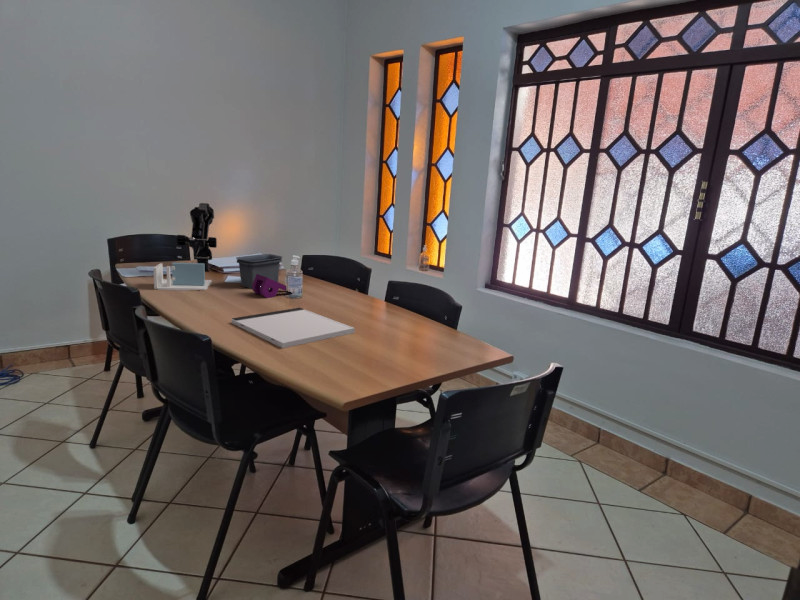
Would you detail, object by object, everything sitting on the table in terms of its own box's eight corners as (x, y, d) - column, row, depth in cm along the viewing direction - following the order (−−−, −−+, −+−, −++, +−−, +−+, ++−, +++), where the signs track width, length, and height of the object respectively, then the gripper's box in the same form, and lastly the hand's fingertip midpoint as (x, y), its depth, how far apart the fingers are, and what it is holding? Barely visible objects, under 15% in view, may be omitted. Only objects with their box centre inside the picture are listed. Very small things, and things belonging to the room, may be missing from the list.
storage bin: (250, 290, 251) (250, 261, 248) (230, 285, 260) (230, 256, 257) (285, 285, 268) (285, 257, 265) (265, 279, 277) (265, 252, 273)
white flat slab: (231, 318, 199) (300, 307, 221) (231, 324, 200) (300, 312, 222) (283, 343, 176) (354, 328, 197) (282, 350, 176) (354, 334, 198)
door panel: (173, 283, 250) (172, 262, 247) (204, 284, 252) (204, 263, 250) (171, 285, 246) (170, 264, 243) (203, 286, 249) (203, 265, 246)
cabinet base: (164, 281, 259) (163, 259, 256) (211, 282, 263) (211, 261, 261) (154, 289, 241) (153, 267, 238) (205, 290, 245) (205, 268, 243)
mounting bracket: (279, 302, 256) (249, 290, 243) (286, 286, 257) (256, 273, 244) (290, 307, 250) (260, 295, 237) (297, 290, 251) (267, 277, 238)
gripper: (217, 240, 279) (215, 265, 272) (179, 237, 274) (176, 262, 267) (217, 227, 270) (215, 253, 263) (177, 224, 265) (174, 250, 258)
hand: (195, 255), depth 263 cm, fingers closed
